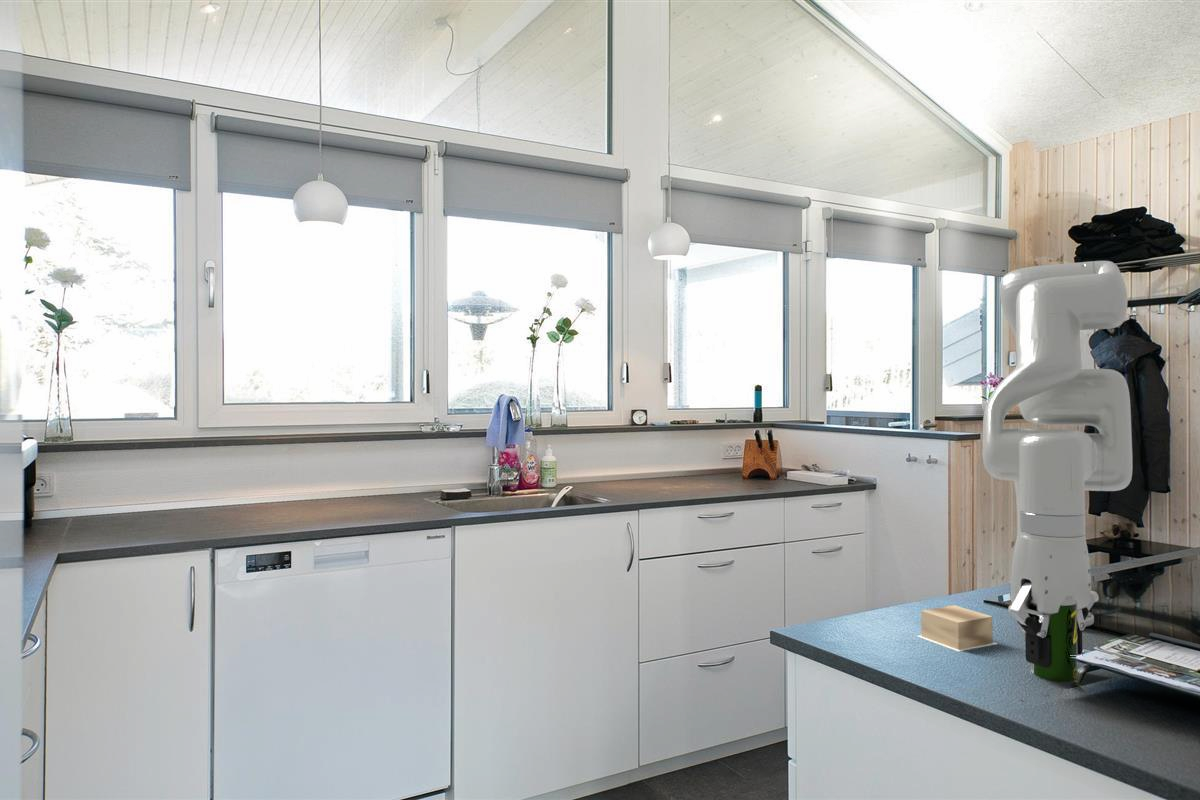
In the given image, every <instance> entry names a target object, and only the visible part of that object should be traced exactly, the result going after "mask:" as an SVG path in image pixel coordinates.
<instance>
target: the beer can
mask: <svg viewBox="0 0 1200 800" xmlns="http://www.w3.org/2000/svg"><path fill="white" fill-rule="evenodd" d="M1073 598H1074V596H1070V597H1065V598H1064V599H1066V600H1064V602H1063V603H1062V604H1061V605H1060V608H1059V611H1058V613H1055V614H1052V615H1050V620H1049V624H1048V629H1047V634H1046V637H1050V655H1051V665H1050V667H1048V668H1044V667H1041V666H1038V665H1035V664H1032V663H1030V668H1031V669H1030V670H1031V673H1032V675H1034V676H1037V677H1038V678H1040V679H1044V680H1047V681H1053V682H1058V683H1059V682H1061V683H1064V682H1065V683H1067V682H1075V681H1077V680H1078V679H1079V666H1078V665H1079V664H1078V663H1079V661H1077V660H1074V659H1071V658H1070V657H1076V656H1070V655H1078V646H1077V602H1076V601H1075V600H1074V599H1073ZM1033 610H1036V611H1037V606H1034V605H1033ZM1039 619H1040V616H1037V615H1034V620H1035V621H1036V622H1037V623H1039ZM1077 674H1078V675H1077ZM1073 688H1074V686H1073V687H1069V688H1066V690H1067V689H1073Z"/></svg>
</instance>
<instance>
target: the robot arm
mask: <svg viewBox="0 0 1200 800" xmlns="http://www.w3.org/2000/svg"><path fill="white" fill-rule="evenodd" d="M999 283H1000V284H999V298H1000V303H1001V307H1002V312H1003V313H1004V316H1005V319H1006V321H1007V323H1008V325H1009V328H1010V330H1011V332H1012V334H1013V337H1014V339H1015V348H1016V349H1015V351H1016V352H1015V353H1016V354H1015V355H1016V356H1015V357H1016V360H1015V361H1016V362H1015V363H1016V364H1015V368H1014V370H1012V371H1011V372H1010V373H1009V374H1008V375H1006V377H1004V379H1003V380H1001V381H1000V382H999V384H998V385H996V387H995V388H994V390H993V392H992V393H991V394H990V396H989V398H988V400H987V402H986V405H985V408H984V412H983V419H982V421H983V423H982V461H983V466H984V469H985V471H986V472H987V473H988V475H990V477H992V478H994V479H997V480H1000V481H1013V483H1014V489H1015V498H1016V500H1015V501H1016V502H1015V503H1016V520H1017V521H1016V525H1017V526H1016V528H1017V529H1016V531H1017V533H1016V540H1015V545H1014V550H1013V555H1012V565H1011V580H1010V601H1011V604H1009V606H1008V611H1007V612H1008V613H1009V615H1010V616H1012V617H1013V618H1014V619H1015V621H1017V623H1018V625H1020V627H1021V631H1022V632H1023V633H1025V634H1024V635H1025V638H1024V639H1025V646H1024V647H1025V661H1026V662H1027V663H1030V664H1031V663H1032V664H1035V665H1038V666H1041V667H1044V668H1048V667H1050V665H1051V655H1050V637H1046V634H1047V629H1048V624H1049V620H1050V615H1052V614H1055V613H1058V611H1059V608H1060V605H1061V604H1062V603H1063V602H1064V600H1066V599H1064V598H1065V597H1070V596H1074V598H1073V599H1074V600H1075V601H1076V602H1077V646H1078V654H1081V653H1082V654H1083V631H1084V630H1085V628H1086V627H1090V626H1092V625H1093V624H1094V623H1095V616H1094V614H1093V613H1092V612H1090V610H1091V608H1092V607H1093V605H1094V604H1095V603H1096V602H1098V601H1099V600H1100V599H1099V597H1100V596H1099V594H1098V593H1097V592H1096V591H1094V590H1092V580H1091V579H1092V577H1091V575H1092V574H1091V564H1090V557H1089V549H1088V545H1087V544H1088V543H1087V540H1086V491H1091V492H1093V491H1094V492H1095V491H1096V492H1100V491H1101V492H1116V491H1121V490H1124V489H1126V488H1127V487H1128V486H1129V485H1130V483H1131V481H1132V477H1133V439H1132V435H1133V434H1132V414H1131V413H1132V412H1131V410H1132V409H1131V396H1130V390H1129V386H1128V383H1127V380H1126V378H1125V377H1124V375H1123V374H1122V373H1121V372H1119V371H1117V370H1115V369H1111V368H1082V365H1083V364H1082V351H1081V350H1082V348H1081V331H1085V330H1086V331H1088V330H1090V331H1091V330H1105V329H1106V330H1107V329H1114V328H1118V327H1119V326H1120V325H1122V324H1123V322H1124V321H1125V320H1126V319H1125V318H1126V316H1127V312H1128V311H1127V310H1128V293H1127V292H1128V291H1127V287H1126V284H1125V281H1124V277H1123V276H1122V273H1121V270H1120V269H1119V267H1118V265H1117V264H1116V263H1114V262H1113V261H1110V260H1095V261H1094V260H1093V261H1082V262H1071V263H1069V262H1068V263H1056V264H1044V265H1034V266H1027V267H1022V268H1019V269H1013V270H1011V271H1009V272H1007V273H1006V274H1005V275H1003V276H1002V278H1001V280H1000V282H999ZM1017 405H1019V409H1020V414H1021V416H1022V418H1023V419H1024V420H1025V421H1026V422H1028V423H1030V424H1034V425H1043V426H1046V425H1047V426H1091V427H1094V428H1096V429H1097V430H1098V432H1099V433H1086V432H1085V431H1082V430H1079V429H1077V430H1076V429H1068V428H1067V429H1065V428H1063V429H1061V428H1059V429H1057V428H1056V429H1054V428H1053V429H1051V428H1049V429H1047V428H1004V422H1005V418H1006V416H1007V414H1008V413H1009V412H1010V411H1011V410H1012V409H1013V408H1014V407H1015V406H1017ZM1033 605H1034V606H1037V611H1036V610H1033ZM1034 615H1037V616H1040V619H1039V623H1037V622H1036V621H1035V620H1034Z"/></svg>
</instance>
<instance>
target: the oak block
mask: <svg viewBox="0 0 1200 800" xmlns="http://www.w3.org/2000/svg"><path fill="white" fill-rule="evenodd" d="M920 619H921V620H920V621H921V622H920V625H921V627H920V629H921V631H920V632H921V634H920V635H922V637H925V638H927V639H930V640H933V641H936V642H938V643H941V644H944V645H947V646H949V647H952V648H955V649H957V650H960V649H965V648H970V647H976V646H981V645H986V644H991V643H993V642H994V637H993V635H994V634H993V633H994V632H993V627H994V626H993V623H994V622H993V616H992V615H988V614H986V613H981V612H979V611H975V610H972V609H969V608H965V607H962V606H959V605H954V604H953V605H947V606H943V607H942V606H941V607H935V608H929V609H923V610H921V611H920Z"/></svg>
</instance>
